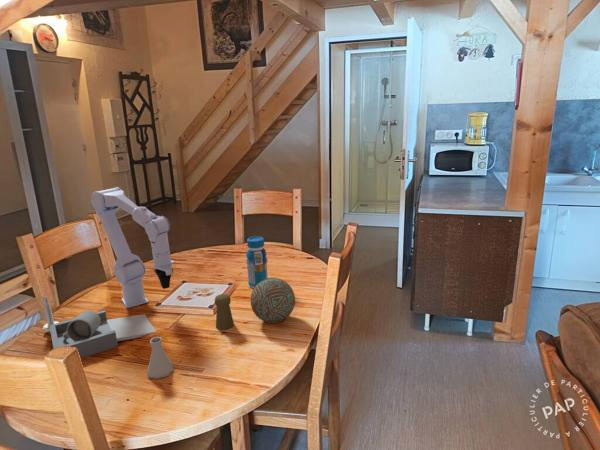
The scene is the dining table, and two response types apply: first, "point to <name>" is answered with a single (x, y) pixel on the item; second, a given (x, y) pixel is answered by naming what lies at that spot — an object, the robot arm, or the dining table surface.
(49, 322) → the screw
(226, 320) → the olive pawn
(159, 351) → the flask
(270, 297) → the decorative sphere
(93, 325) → the ceramic mug
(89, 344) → the dock
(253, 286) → the beverage bottle
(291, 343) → the dining table surface
